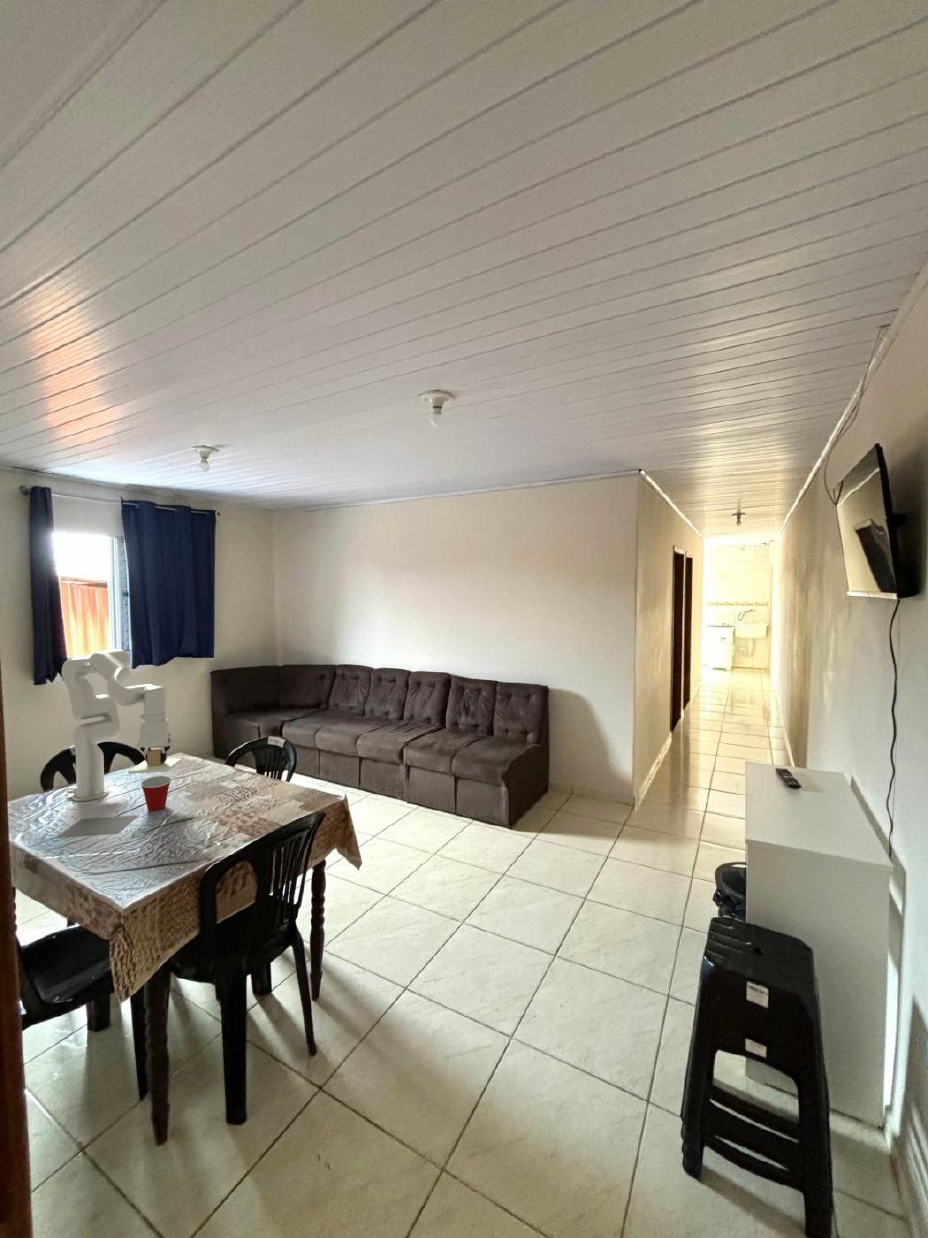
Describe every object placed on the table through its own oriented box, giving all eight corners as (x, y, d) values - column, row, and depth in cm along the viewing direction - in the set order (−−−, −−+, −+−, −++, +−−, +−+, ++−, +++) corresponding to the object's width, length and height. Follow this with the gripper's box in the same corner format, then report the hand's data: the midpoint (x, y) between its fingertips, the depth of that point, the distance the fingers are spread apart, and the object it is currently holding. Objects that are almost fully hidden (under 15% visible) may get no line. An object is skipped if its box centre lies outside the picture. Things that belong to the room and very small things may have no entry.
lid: (128, 773, 197) (128, 755, 196) (145, 762, 210) (144, 745, 210) (168, 771, 199) (167, 753, 199) (181, 760, 213) (181, 744, 212)
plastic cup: (141, 817, 198) (140, 787, 197) (140, 808, 207) (139, 779, 206) (173, 811, 204) (173, 781, 204) (170, 802, 213) (170, 773, 212)
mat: (55, 839, 180) (55, 837, 180) (81, 820, 196) (81, 818, 195) (118, 835, 183) (118, 833, 183) (138, 816, 199) (138, 815, 199)
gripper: (127, 720, 199) (128, 767, 200) (174, 718, 202) (175, 764, 202) (136, 716, 206) (137, 761, 207) (181, 714, 209) (182, 758, 210)
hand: (156, 762), depth 205 cm, fingers closed on lid, 4 cm apart
